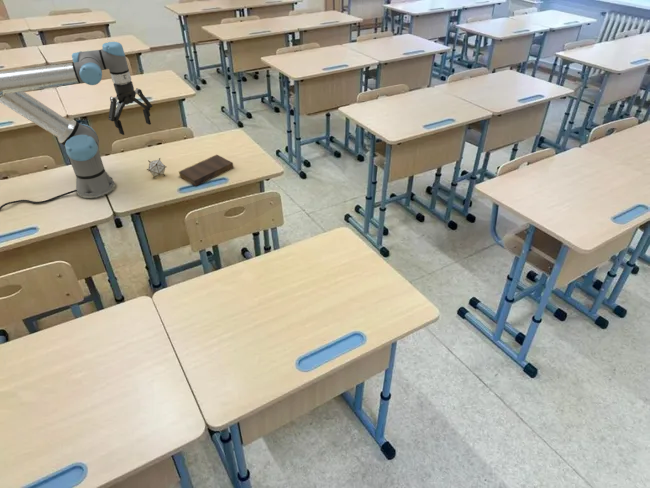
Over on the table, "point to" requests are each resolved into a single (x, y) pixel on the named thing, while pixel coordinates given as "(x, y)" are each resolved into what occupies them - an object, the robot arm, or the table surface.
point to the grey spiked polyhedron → (156, 168)
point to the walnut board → (206, 170)
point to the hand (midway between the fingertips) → (135, 128)
